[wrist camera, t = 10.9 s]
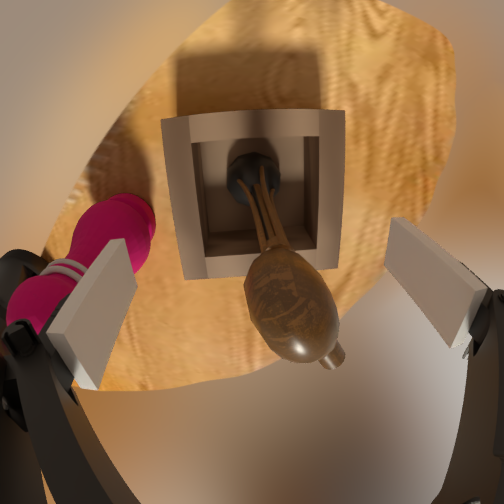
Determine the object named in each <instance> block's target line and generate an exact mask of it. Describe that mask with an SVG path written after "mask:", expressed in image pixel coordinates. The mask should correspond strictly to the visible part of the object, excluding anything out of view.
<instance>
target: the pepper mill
mask: <svg viewBox="0 0 504 504" xmlns="http://www.w3.org/2000/svg"><path fill="white" fill-rule="evenodd" d="M155 227H156V224H155V217H154V214H153V212H152V210H151V208H150V207H149V205H148V204H147V203H146V202H145V201H144V200H143V199H141V198H140V197H138V196H136V195H133V194H129V193H120V194H117V195H114V196H112V197H111V198H109V199H108V200H105V201H101V202H99V203H96V204H94V205H93V206H91V207H90V208H89V209H88V210H87V211H86V212H85V213H84V214H83V215H82V216H81V218H80V219H79V221H78V223H77V225H76V228H75V230H74V233H73V237H72V243H71V247H70V251H69V254H68V255H67V256H66V257H65V259H56V260H54V261H52V262H51V263H49V264H48V266H47V267H46V269H44V270H43V271H42V272H41V274H40V275H39V276H34V277H31V278H28V279H27V280H25V281H24V282H23V283H21V284H20V285H19V286H18V287H17V288H16V290H15V291H14V293H13V294H12V296H11V298H10V300H9V303H8V307H7V313H6V323H7V326H8V325H9V324H11V323H12V322H14V321H16V320H18V319H24V318H26V319H28V320H30V322H31V324H32V326H33V327H34V329H35V331H36V333H37V335H38V334H39V332H40V331H41V329H42V328H43V326H44V324H45V323H46V321H47V320H48V318H49V317H51V316H50V315H51V314H52V312H53V310H55V307H56V306H57V305H58V303H59V302H60V300H61V299H63V298H64V297H65V296H66V295H67V294H69V293H72V291H73V290H74V288H75V287H76V286H77V284H78V283H79V281H80V280H81V278H82V277H83V276H84V274H85V273H86V271H87V270H88V269H89V267H90V266H91V265H92V263H93V262H94V261H95V259H96V258H97V257H98V255H99V254H100V253H101V251H102V250H103V249H104V248H105V246H106V245H107V244H108V242H109V241H110V240H113V239H122V238H124V239H125V243H126V247H127V251H128V254H129V258H130V262H131V265H132V269H133V273H134V274H135V273H136V272H137V271H138V270H139V269H140V268H141V267H142V265H143V264H144V262H145V261H146V259H147V257H148V254H149V251H150V246H151V243H150V241H151V240H152V238H153V236H154V233H155Z"/></svg>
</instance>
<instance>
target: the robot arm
mask: <svg viewBox="0 0 504 504" xmlns="http://www.w3.org/2000/svg"><path fill="white" fill-rule="evenodd" d="M48 264H49V263H47V262H46V261H45V260H44V259H42V258H41V257H39V256H37V255H36V254H34V253H32V252H29V251H26V250H21V249H15V250H11V251H9V252H7V253H6V254H5V255H4V256H2V257H1V258H0V504H47V500H46V495H45V490H44V486H43V480H42V474H41V470H42V473H43V475H44V478H45V480H46V483H47V485H48V487H49V490H50V492H51V494H52V496H53V498H54V501H55V502H56V504H141V503H140V502H139V501H138V499H137V498H136V497H135V496H134V494H133V493H132V491H131V490H130V489H129V487H128V486H127V484H126V483H125V481H124V480H123V478H122V477H121V475H120V474H119V472H118V471H117V469H116V468H115V466H114V465H113V463H112V461H111V460H110V458H109V457H108V455H107V453H106V452H105V450H104V448H103V446H102V445H101V443H100V441H99V439H98V437H97V436H96V434H95V432H94V430H93V428H92V426H91V424H90V423H89V420H88V418H87V416H86V415H85V412H84V410H83V408H82V406H81V404H80V402H79V400H78V397H77V395H76V393H75V391H74V390H73V388H72V387H71V385H72V382H73V379H75V380H76V382H77V383H78V385H79V386H80V387H81V388H83V389H91V390H98V389H99V386H100V383H101V380H102V377H103V374H104V371H105V368H106V366H107V363H108V360H109V357H110V354H111V352H112V349H113V346H114V344H115V341H116V338H117V336H118V333H119V331H120V328H121V326H122V323H123V320H124V318H125V316H126V313H127V311H128V308H129V306H130V303H131V301H132V299H133V296H134V294H135V292H136V289H137V287H138V286H137V283H136V279H135V276H134V273H133V269H132V265H131V262H130V258H129V254H128V251H127V247H126V243H125V239H124V238H122V239H113V240H110V241H109V242H108V244H107V245H106V246H105V248H104V249H103V250H102V251H101V253H100V254H99V255H98V257H97V258H96V259H95V261H94V262H93V263H92V265H91V266H90V267H89V269H88V270H87V271H86V273H85V274H84V276H83V277H82V278H81V280H80V281H79V283H78V284H77V286H76V287H75V288H74V290H73V291H72V293H69V294H67V295H66V296H65V297H64V298H63V299H61V300H60V302H59V303H58V305H57V306H56V307H55V310H53V312H52V314H51V315H50V316H51V317H49V318H48V320H47V321H46V323H45V324H44V326H43V328H42V329H41V331H40V332H39V334H38V335H37V333H36V331H35V329H34V327H33V326H32V324H31V322H30V320H28V319H26V318H24V319H18V320H16V321H14V322H12V323H11V324H9V325H8V326H7V323H6V313H7V307H8V303H9V300H10V298H11V296H12V294H13V293H14V291H15V290H16V288H17V287H18V286H19V285H20V284H21V283H23V282H24V281H25V280H27V279H28V278H31V277H34V276H39V275H40V274H41V272H42V271H43V270H44V269H46V267H47V266H48ZM384 266H385V267H386V268H387V269H388V270H389V271H390V273H391V274H392V275H393V276H394V277H395V279H396V280H397V281H398V282H399V283H400V285H401V286H402V287H403V288H404V289H405V290H406V292H407V293H408V294H409V295H410V297H411V298H412V299H413V300H414V302H415V303H416V304H417V305H418V307H419V308H420V309H421V311H423V313H424V314H425V316H426V317H427V318H428V320H429V321H430V322H431V323H432V325H433V326H434V328H435V329H436V330H437V332H439V334H440V335H441V337H442V338H443V340H444V341H445V342H446V344H447V345H448V346H449V348H453V347H455V346H459V345H461V344H463V342H464V340H465V338H466V336H467V334H468V332H469V333H470V335H471V336H472V339H471V341H470V343H469V345H468V347H467V349H466V351H465V352H464V355H463V357H462V358H463V359H464V358H465V356H466V355H467V354H468V353H469V356H468V370H467V379H466V387H465V395H464V402H463V407H462V413H461V419H460V424H459V429H458V433H457V438H456V442H455V446H454V450H453V454H452V458H451V461H450V465H449V468H448V471H447V474H446V477H445V480H444V483H443V486H442V489H441V491H440V492H439V494H438V495H437V497H436V498H435V499H434V500H433V501H432V503H431V504H504V290H500V289H498V290H495V291H492V290H491V289H490V288H489V287H488V286H487V285H486V284H485V283H484V282H483V281H482V280H480V278H478V277H477V276H475V274H474V273H473V272H472V271H469V268H467V267H466V266H465V265H464V264H463V263H461V262H459V261H458V260H457V259H455V258H454V257H453V256H452V255H451V254H450V253H448V252H447V251H446V250H445V249H443V248H442V247H441V246H440V245H439V244H438V243H436V242H435V241H434V240H432V239H431V238H430V237H429V236H428V235H426V234H425V233H424V232H422V231H421V230H420V229H418V228H417V227H416V226H415V225H413V224H412V223H411V222H409V221H408V220H407V219H405V218H404V217H394V218H391V224H390V231H389V237H388V244H387V250H386V255H385V261H384Z"/></svg>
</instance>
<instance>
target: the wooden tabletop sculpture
mask: <svg viewBox="0 0 504 504" xmlns="http://www.w3.org/2000/svg"><path fill="white" fill-rule="evenodd" d="M280 179H281V173H280V171H279V170H278V168H277V167H276V165H275V163H274V162H273V160H272V159H271V158H270V157H268V156H265V155H263V154H260V153H257V152H251V153H247V154H243V155H240V156H238V157H237V158H236V159H235V160H234V161H233V163H232V164H231V165H230V166H229V168H228V169H227V189H228V190H229V192H230V193H231V195H232V196H233V197H234V199H235V200H236V202H237V203H240V204H243V205H246V206H249V207H251V209H252V213H253V217H254V221H255V225H256V230H257V235H258V240H259V245H260V250H261V254H260V256H258V257H257V258H256V259H254V260H253V262H252V264H251V266H250V268H249V271H248V274H247V277H246V279H245V282H244V290H245V295H246V300H247V304H248V309H249V313H250V318H251V321H252V322H253V324H254V325H255V327H256V328H257V330H258V331H259V333H260V334H261V336H262V337H263V339H264V340H265V342H266V343H267V345H268V346H269V348H270V349H271V350H272V351H273V352H275V353H276V354H277V355H279V356H280V357H281V358H282V359H285V360H288V361H291V362H294V363H312V362H315V361H317V360H318V361H319V363H320V364H321V365H322V366H323V367H324V368H325V369H335V368H337V367H339V366H340V365H341V364H342V363H343V361H344V359H345V352H344V350H343V349H342V347H341V345H340V344H339V342H338V340H337V338H338V332H339V324H340V323H339V318H338V312H337V307H336V305H335V302H334V300H333V297H332V295H331V292H330V290H329V288H328V287H327V285H326V283H325V282H324V280H323V278H322V276H321V275H320V274H319V272H318V271H317V270H316V269H315V268H314V267H313V266H312V265H311V264H310V263H309V262H308V261H306V260H305V259H304V258H303V257H302V256H301V255H300V254H299V253H296V252H295V250H294V249H293V247H292V246H290V245H289V242H288V240H287V238H286V235H285V233H284V230H283V228H282V225H281V223H280V220H279V217H278V215H277V212H276V208H275V205H274V199H273V198H274V197H275V196H276V195H277V193H278V192H279V189H280Z"/></svg>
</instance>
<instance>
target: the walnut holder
mask: <svg viewBox="0 0 504 504" xmlns="http://www.w3.org/2000/svg"><path fill="white" fill-rule="evenodd" d="M161 129H162V138H163V147H164V156H165V164H166V172H167V179H168V186H169V193H170V200H171V206H172V213H173V219H174V225H175V231H176V237H177V242H178V248H179V253H180V258H181V264H182V269H183V274H184V279H185V280H195V279H210V278H225V277H239V276H247V274H248V271H249V268H250V266H251V264H252V262H253V260H254V259H256V258H257V257H258V256H260V254H261V250H260V245H259V240H258V235H257V230H256V225H255V221H254V217H253V213H252V209H251V207H249V206H246V205H243V204H240V203H237V202H236V200H235V199H234V197H233V196H232V195H231V193H230V192H229V190H228V189H227V169H228V168H229V166H230V165H231V164H232V163H233V161H234V160H235V159H236V158H237V157H238V156H240V155H243V154H247V153H251V152H257V153H260V154H263V155H265V156H268V157H270V158H271V159H272V160H273V162H274V163H275V165H276V167H277V168H278V170H279V171H280V173H281V179H280V189H279V192H278V193H277V195H276V196H275V197H274V198H273V199H274V205H275V208H276V212H277V215H278V217H279V220H280V223H281V225H282V228H283V230H284V233H285V235H286V238H287V240H288V242H289V245H290V246H292V247H293V249H294V250H295V252H296V253H299V254H300V255H301V256H302V257H303V258H304V259H305V260H306V261H308V262H309V263H310V264H311V265H312V266H313V267H314V268H315V269H316V270H324V269H335V268H338V260H339V250H340V239H341V227H342V212H343V195H344V172H345V111H344V110H324V109H261V110H241V111H227V112H216V113H206V114H197V115H189V116H181V117H174V118H167V119H161Z"/></svg>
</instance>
